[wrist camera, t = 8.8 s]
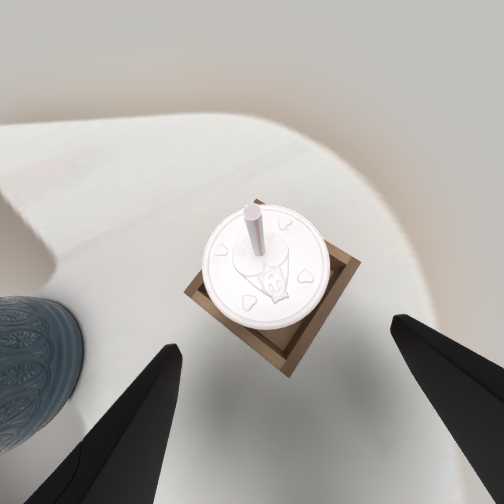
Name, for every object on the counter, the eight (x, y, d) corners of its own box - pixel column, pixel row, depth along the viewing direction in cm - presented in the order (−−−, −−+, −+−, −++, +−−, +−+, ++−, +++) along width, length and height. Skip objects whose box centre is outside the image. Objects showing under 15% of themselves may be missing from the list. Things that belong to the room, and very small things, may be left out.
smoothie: (283, 241, 20) (309, 107, 7) (314, 302, 18) (433, 286, 5) (223, 267, 20) (129, 183, 7) (249, 331, 18) (190, 397, 5)
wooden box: (343, 271, 20) (361, 262, 16) (285, 363, 18) (289, 378, 14) (258, 217, 22) (256, 198, 18) (200, 295, 20) (183, 292, 16)
